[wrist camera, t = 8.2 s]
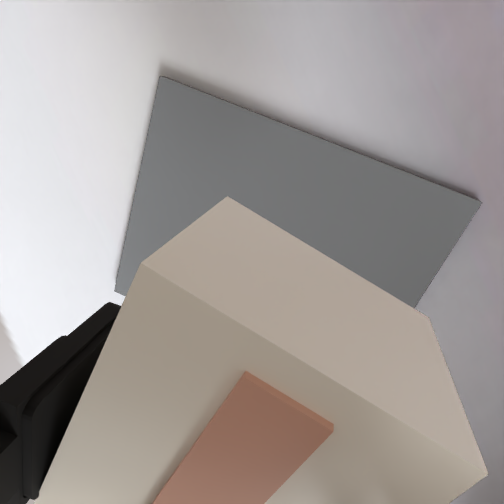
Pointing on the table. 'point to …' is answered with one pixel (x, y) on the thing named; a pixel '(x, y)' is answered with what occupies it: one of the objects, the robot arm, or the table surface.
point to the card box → (263, 384)
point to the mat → (288, 192)
